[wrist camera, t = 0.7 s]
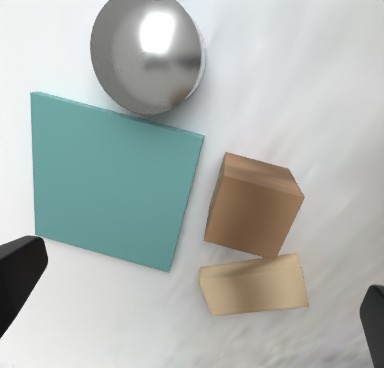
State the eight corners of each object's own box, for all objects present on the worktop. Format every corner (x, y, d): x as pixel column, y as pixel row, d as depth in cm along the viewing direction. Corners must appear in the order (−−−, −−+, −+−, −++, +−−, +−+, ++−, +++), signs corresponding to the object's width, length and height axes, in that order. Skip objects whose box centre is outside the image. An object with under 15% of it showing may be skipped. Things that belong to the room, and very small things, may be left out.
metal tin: (217, 15, 15) (214, 4, 13) (193, 117, 18) (186, 126, 15) (118, -10, 15) (94, -26, 13) (109, 94, 18) (87, 99, 15)
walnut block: (288, 168, 18) (304, 197, 14) (266, 221, 20) (274, 260, 16) (225, 151, 18) (224, 175, 14) (209, 205, 20) (204, 240, 16)
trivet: (204, 135, 18) (202, 138, 17) (170, 265, 23) (168, 272, 22) (38, 91, 18) (30, 92, 18) (41, 229, 23) (35, 234, 23)
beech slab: (295, 249, 21) (301, 266, 19) (302, 287, 23) (308, 306, 21) (201, 264, 23) (198, 281, 21) (213, 298, 25) (211, 316, 23)
